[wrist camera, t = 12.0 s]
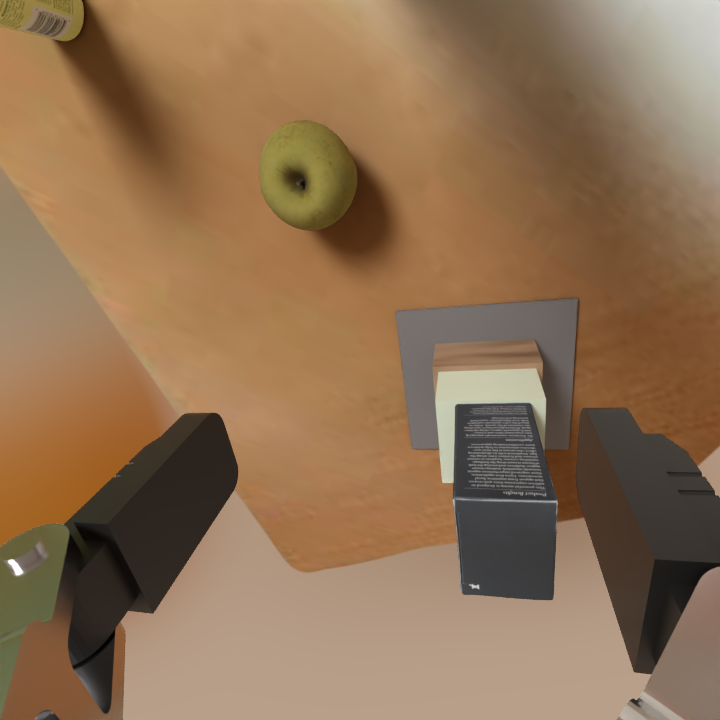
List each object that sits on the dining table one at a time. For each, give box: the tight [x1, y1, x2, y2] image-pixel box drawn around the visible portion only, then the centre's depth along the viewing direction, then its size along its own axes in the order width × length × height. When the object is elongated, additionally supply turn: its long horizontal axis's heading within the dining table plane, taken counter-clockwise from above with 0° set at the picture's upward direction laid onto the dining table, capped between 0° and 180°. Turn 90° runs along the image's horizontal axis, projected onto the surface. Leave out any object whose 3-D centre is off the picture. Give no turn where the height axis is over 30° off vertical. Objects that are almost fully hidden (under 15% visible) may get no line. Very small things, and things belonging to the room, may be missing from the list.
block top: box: [435, 368, 546, 483], centre depth 37 cm, size 8×8×5 cm
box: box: [452, 403, 558, 600], centre depth 30 cm, size 8×6×11 cm
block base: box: [432, 339, 543, 399], centre depth 41 cm, size 9×9×5 cm
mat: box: [396, 298, 578, 450], centre depth 44 cm, size 16×16×1 cm
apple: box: [259, 120, 358, 231], centre depth 35 cm, size 8×8×7 cm
